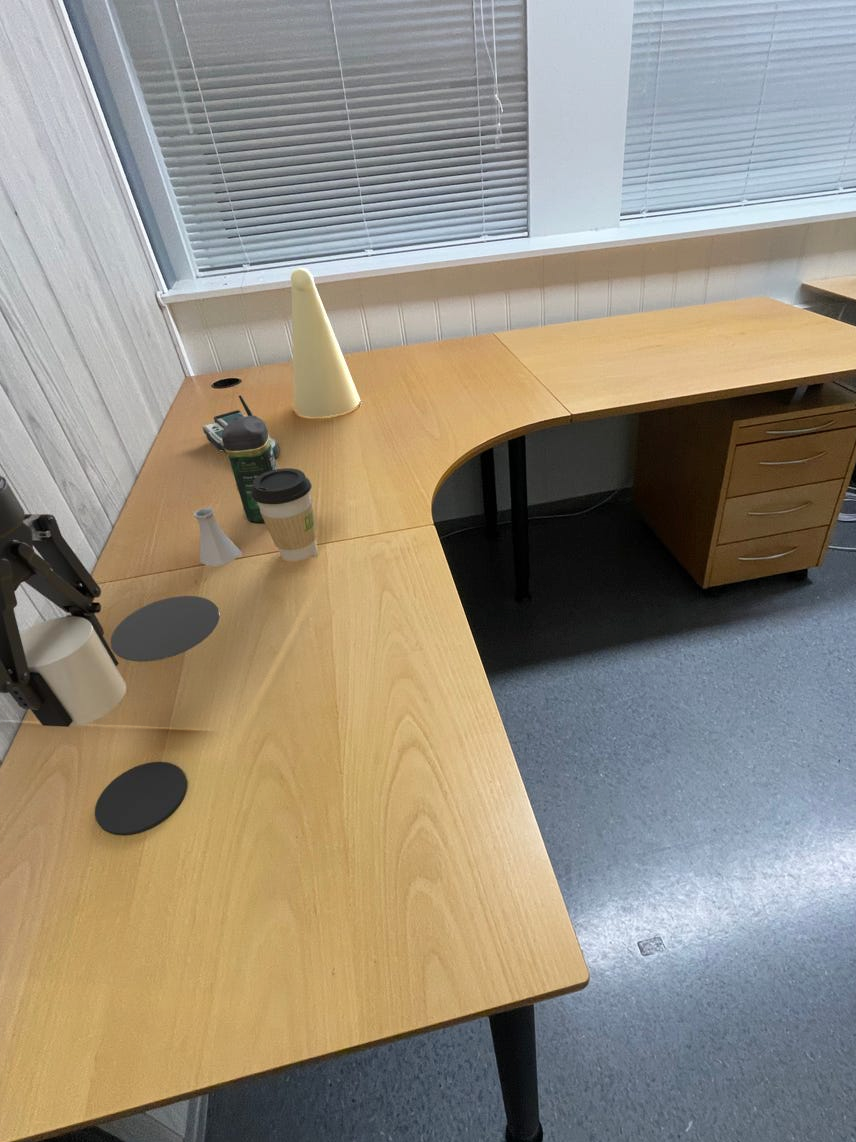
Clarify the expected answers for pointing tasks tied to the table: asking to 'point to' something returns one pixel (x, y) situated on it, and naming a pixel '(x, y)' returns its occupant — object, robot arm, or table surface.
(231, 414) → the communication device
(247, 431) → the coffee jar
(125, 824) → the coaster
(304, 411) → the cone light
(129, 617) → the plate
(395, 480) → the table surface
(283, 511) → the coffee cup
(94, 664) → the white cylinder
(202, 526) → the flask
